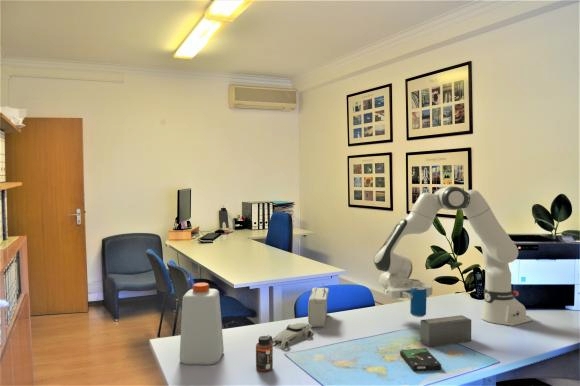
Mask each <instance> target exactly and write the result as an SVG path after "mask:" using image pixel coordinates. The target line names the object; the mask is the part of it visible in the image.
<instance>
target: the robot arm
mask: <svg viewBox="0 0 580 386" xmlns="http://www.w3.org/2000/svg"><path fill="white" fill-rule="evenodd" d="M443 209H444V210H448V211H449V210H450V211H455V210H462V211H463V212H464V215H465V216H466V218H467V220H468V222H469V224H470V226H471V227H472V229H473V230H474V232H475V234H476V235H477V236H478V237H479V239H480V240H481V242H480V247H481V251H482V258H483V265H484V272H485V273H484V274H485V275H484V277H485V278H484V279H485V281H484V282H485V283H484V289H483V296H484V300H483V301H484V302H483V309H482V313H481V315H480V318H481V319H482V320H483V321H485V322H488V323H492V324H497V325H505V326H506V325H507V326H517V325H520V324H525V323H528V322H533V319H532V318H533V317H530V316H529V315H527V310H526V307H525V305H524V304H523V303H521V302H519V300H517V299H516V298H515V296H516V297H517V296H519V295H520V294H519V291H517V290H512V272H511V268H510V265H509V264H510V263H513V262H514V261H516V260H517V258H518V256H519V249H518V247H517V245H516V244H515V243H514V241H513V240H512V239H511V237H510V236H509V234H508V233H507V232H506V230H505V229H504V227H503V226H502V225H501V224H500V222H499V221H498V219H497V218H496V216H495V213H494V212H493V210H492V209H491V207H490V205H489V203H488V202H487V200H486V199H485V198H484V196H483V195H482V194H481V192H480V191H478V190H476V189H469V190H467V191H466V190H464V189H462V188H461V187H458V186H453V185H448V186H447V185H446V186H442V187H439V188H438V189H436V190H435V191H434V192H422V193H421V194H420V195H419V196H418V198H417V199H416V201H415V202H414V204H413V206H412V208H411V210H410V212H409V214H408V215H407V216H406V217H405V218H404V219H401V220H399V221H398V222H397V224H395V226H394V228H393V229H392V231H391V232H390V234H389V235H388V237H387V238H386V240H385V242H383V245H382V246H381V247H380V248H379V250H378V251H377V252H376V253H375V254H374V258H373V263H374V266H375V268H376V269H377V271H381V272H382V273H380V276H379V278H378V281H379V284H380V286H381V287H382V289H383V292H384V293H386V295H387V296H388V297H389V298H391V299H394V300H396V299H409V300H411V299H412V298H413V294H411V289H412V286H423V287H425V288H426V291H427V295H426V298H429V297H430V296H432V295H433V286H432V285H430V284H427V283H426V282H424V281H423V282H422V281H421V280H420V279H417V278H416V279H414V278H413V279H412V278H410V277H411V275H412V273H413V262H412V260H411V259H410V258H407V257H406V256H403V255H401V254H398V253H395V252H394V250H395V249H396V247H397V246H398V244H399V242H400V241H401V240H402V238H403V237H404V236H405V237H406V235H419V234H424V233H426V232H428V231H429V230H430V228H431V227H432V225H433V223H434V220H435V218H436V216H437V214H438V213H439V211H440V210H443Z"/></svg>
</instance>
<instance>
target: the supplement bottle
mask: <svg viewBox="0 0 580 386" xmlns="http://www.w3.org/2000/svg"><path fill="white" fill-rule="evenodd" d="M273 347H274V346H273V345H272V343H271V342H270V337H268V336H267V335H261V336H259V337H258V342H257V343H256V345H255V367H256V368H255V369H256V370H257V371H258V372H261V373H262V372H263V373H266V372H270V371H272V370H273V365H274V364H273V363H274V359H273V356H274V355H273V353H274V352H273Z"/></svg>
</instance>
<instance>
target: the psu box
mask: <svg viewBox="0 0 580 386" xmlns="http://www.w3.org/2000/svg"><path fill="white" fill-rule="evenodd" d="M419 327H420V330H419V332H420V334H419V335H420V337H419V338H420V340H419V341H420V342H421V344H423V345H425V346H426V347H428V348H432V347H440V346H445V345H446V346H447V345H454V344H460V343H461V344H462V343H469V342H471V341H472V319H471V318H468V317H466V316H465V315H462V314H461V315H453V316H445V317H436V318H428V319H426V318H425V319H420V324H419Z"/></svg>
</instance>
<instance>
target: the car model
mask: <svg viewBox="0 0 580 386" xmlns="http://www.w3.org/2000/svg"><path fill="white" fill-rule="evenodd" d="M311 328H312V327H311V325H310V324H309V323H305V322H300V323H299V322H298V323H293V324H288V325H287V326H286V328H285V329H283V330H281V331H280V332H279V333H278V334H276V335H275V336H274V337H273V336H272V335H271V334H268V335H266V336H268V337H270V342H271V343H272V345H273V347H274V348H275V349H278V350H279V349H280V350H286V349H288V348H289V347H290V346H291V345H294V344H296V343H297V342H298V343H299V342H300V341H302V340H306V339H309V338H311V337H312V335H313V334H314V332H313V331H312V330H311Z"/></svg>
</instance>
